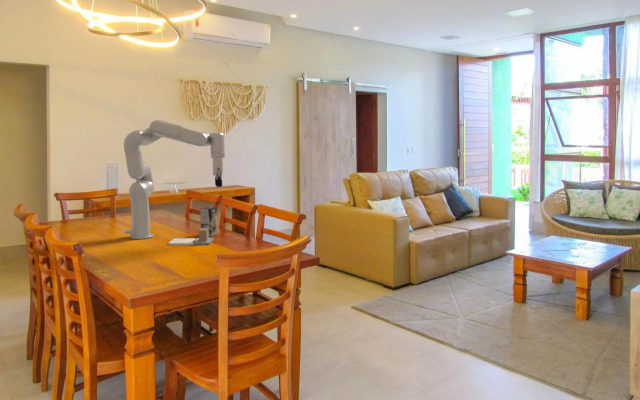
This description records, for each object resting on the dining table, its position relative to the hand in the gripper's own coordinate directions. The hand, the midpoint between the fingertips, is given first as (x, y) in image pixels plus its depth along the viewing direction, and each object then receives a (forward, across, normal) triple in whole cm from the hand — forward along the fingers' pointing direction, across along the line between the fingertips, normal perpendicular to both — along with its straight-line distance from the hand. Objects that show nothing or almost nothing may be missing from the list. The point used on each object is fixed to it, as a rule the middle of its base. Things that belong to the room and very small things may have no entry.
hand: (218, 185), depth 275 cm
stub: (+29, +10, -9) cm, 33 cm away
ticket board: (+29, +8, -20) cm, 36 cm away
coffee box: (+30, -9, -6) cm, 32 cm away
